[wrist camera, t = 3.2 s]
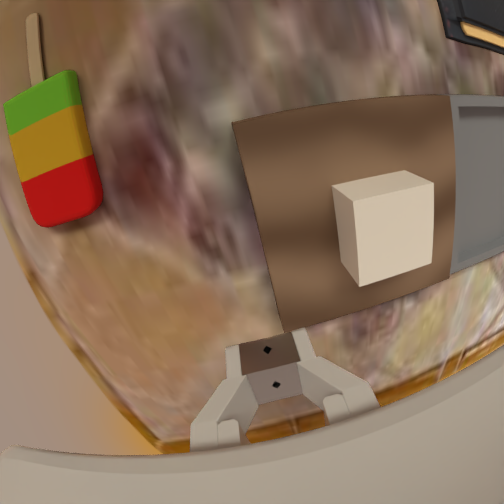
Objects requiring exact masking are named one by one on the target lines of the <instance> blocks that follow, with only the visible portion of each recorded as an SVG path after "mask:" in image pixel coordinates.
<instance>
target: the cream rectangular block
mask: <svg viewBox="0 0 504 504" xmlns="http://www.w3.org/2000/svg"><path fill="white" fill-rule="evenodd" d="M332 192H333V199H334V206H335V214H336V222H337V230H338V239H339V248H340V257H341V262H342V264H343V265H344V266H345V268H346V269H347V271H348V272H349V273H350V275H351V276H352V277H353V279H354V280H355V282H356V283H357V284H358V286H359V287H361V286H364V285H368V284H371V283H374V282H377V281H380V280H383V279H386V278H389V277H392V276H395V275H398V274H401V273H404V272H407V271H410V270H413V269H416V268H419V267H422V266H425V265H428V264H430V263H432V249H433V228H434V183H433V182H431V181H428V180H426V179H424V178H422V177H419V176H417V175H415V174H413V173H410V172H408V171H405V170H403V171H398V172H393V173H388V174H383V175H378V176H373V177H369V178H364V179H359V180H355V181H350V182H345V183H341V184H336V185H332Z"/></svg>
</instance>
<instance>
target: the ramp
mask: <svg viewBox="0 0 504 504" xmlns="http://www.w3.org/2000/svg"><path fill="white" fill-rule="evenodd" d="M232 126H233V130H234V134H235V138H236V142H237V146H238V150H239V153H240V157H241V161H242V165H243V169H244V173H245V177H246V181H247V185H248V189H249V193H250V197H251V201H252V205H253V209H254V213H255V217H256V221H257V225H258V230H259V234H260V238H261V242H262V246H263V250H264V254H265V258H266V262H267V266H268V270H269V275H270V279H271V283H272V287H273V291H274V295H275V300H276V304H277V308H278V312H279V316H280V320H281V323H282V326H283V330H284V333H285V332H289V331H293V330H297V329H300V328H304V327H307V326H311V325H314V324H318V323H321V322H325V321H328V320H331V319H335V318H338V317H341V316H344V315H348V314H351V313H354V312H357V311H360V310H363V309H366V308H369V307H372V306H375V305H378V304H381V303H384V302H387V301H390V300H393V299H396V298H398V297H401V296H404V295H407V294H409V293H412V292H415V291H418V290H420V289H423V288H426V287H428V286H431V285H433V284H436V283H438V282H441V281H443V280H446V279H448V278H449V276H450V269H451V260H452V251H453V240H454V226H455V204H456V165H455V143H454V130H453V119H452V110H451V102H450V96H449V95H432V94H431V95H406V96H391V97H379V98H368V99H359V100H350V101H342V102H335V103H328V104H321V105H315V106H308V107H303V108H297V109H291V110H286V111H281V112H276V113H271V114H266V115H262V116H257V117H253V118H248V119H244V120H240V121H236V122H232ZM403 170H405V171H408V172H410V173H413V174H415V175H417V176H419V177H422V178H424V179H426V180H428V181H431V182H433V183H434V228H433V249H432V263H430V264H428V265H425V266H422V267H419V268H416V269H413V270H410V271H407V272H404V273H401V274H398V275H395V276H392V277H389V278H386V279H383V280H380V281H377V282H374V283H371V284H368V285H364V286H361V287H359V286H358V284H357V283H356V282H355V280H354V279H353V277H352V276H351V275H350V273H349V272H348V271H347V269H346V268H345V266H344V265H343V264H342V262H341V257H340V248H339V239H338V230H337V222H336V214H335V206H334V199H333V192H332V185H336V184H341V183H345V182H350V181H355V180H359V179H364V178H369V177H373V176H378V175H383V174H388V173H393V172H398V171H403Z"/></svg>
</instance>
